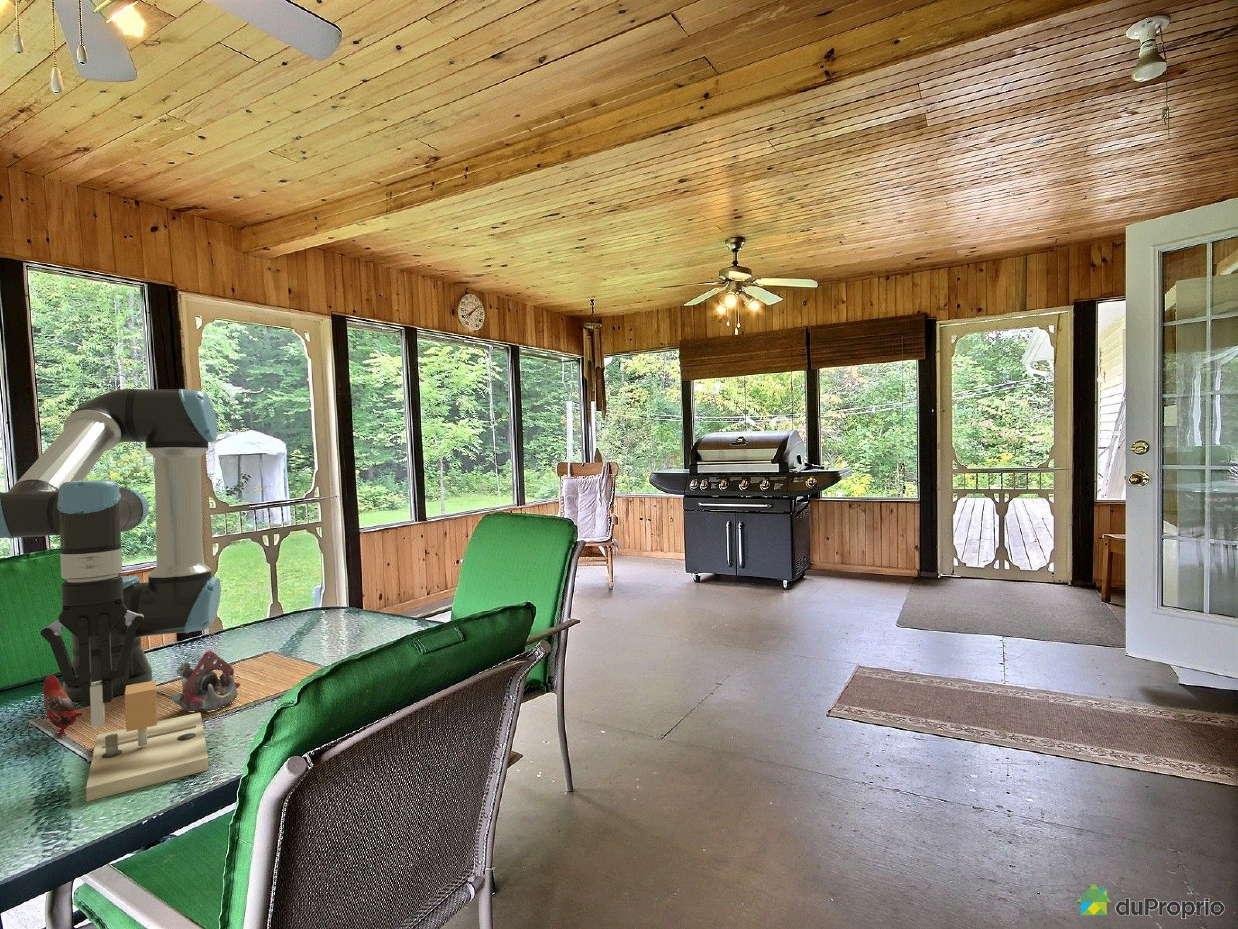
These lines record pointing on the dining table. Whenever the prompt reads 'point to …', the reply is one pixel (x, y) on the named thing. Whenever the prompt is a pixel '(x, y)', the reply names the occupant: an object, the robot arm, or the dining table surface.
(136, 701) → the tan block on peg
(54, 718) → the decorative bird figurine
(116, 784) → the wooden peg board
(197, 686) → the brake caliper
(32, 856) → the dining table surface
